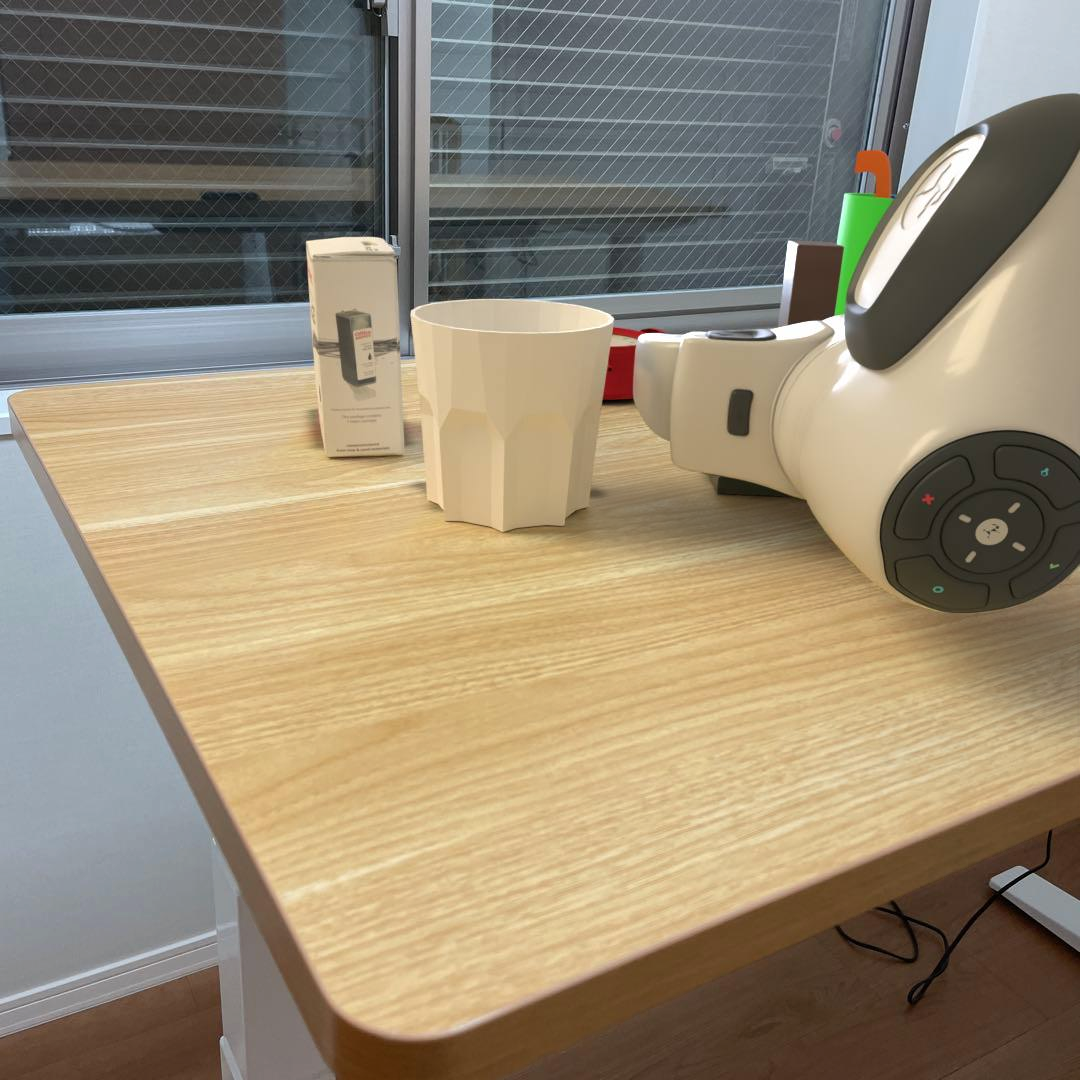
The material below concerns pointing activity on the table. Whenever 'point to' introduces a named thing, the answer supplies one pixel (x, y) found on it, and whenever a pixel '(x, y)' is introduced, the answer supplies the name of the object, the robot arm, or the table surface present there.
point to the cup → (510, 407)
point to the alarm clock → (622, 362)
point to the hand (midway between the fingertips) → (796, 354)
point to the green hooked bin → (862, 217)
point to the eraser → (810, 282)
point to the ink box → (356, 345)
